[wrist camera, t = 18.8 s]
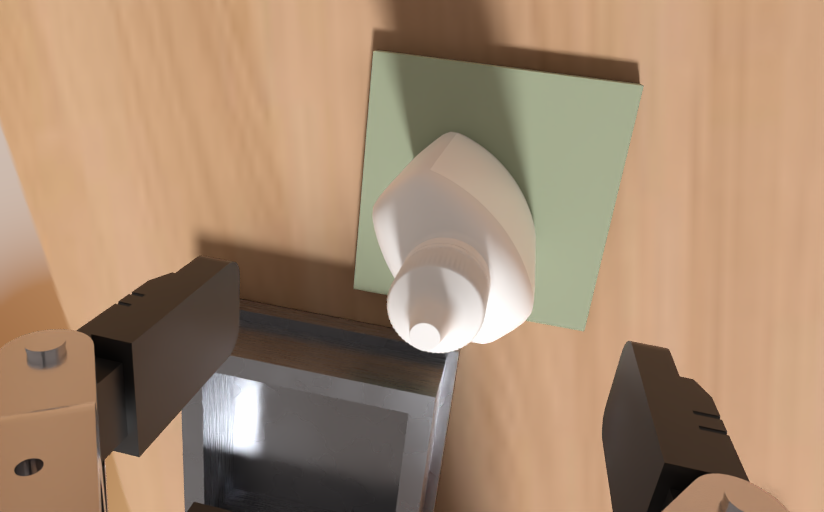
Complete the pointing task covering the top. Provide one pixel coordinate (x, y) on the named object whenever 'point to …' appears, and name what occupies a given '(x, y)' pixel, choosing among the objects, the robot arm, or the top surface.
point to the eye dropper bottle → (456, 247)
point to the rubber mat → (508, 159)
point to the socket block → (318, 418)
